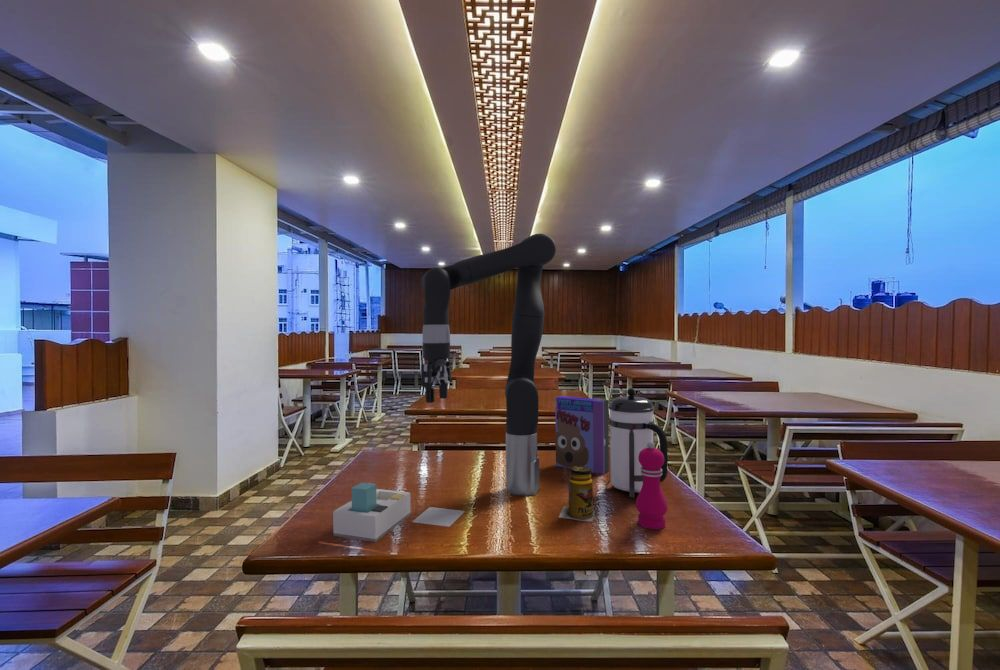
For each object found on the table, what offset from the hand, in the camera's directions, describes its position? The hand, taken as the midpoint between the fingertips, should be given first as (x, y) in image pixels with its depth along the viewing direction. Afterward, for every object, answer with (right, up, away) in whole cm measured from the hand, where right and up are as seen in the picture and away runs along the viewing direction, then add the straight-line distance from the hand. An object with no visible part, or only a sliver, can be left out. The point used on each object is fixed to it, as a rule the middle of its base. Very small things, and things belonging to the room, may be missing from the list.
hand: (437, 400), depth 127 cm
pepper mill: (+54, -28, -16) cm, 63 cm away
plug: (-14, -27, -19) cm, 36 cm away
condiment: (+37, -28, -9) cm, 47 cm away
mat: (+2, -28, -11) cm, 30 cm away
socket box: (-13, -28, -16) cm, 35 cm away
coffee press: (+57, -28, +7) cm, 63 cm away
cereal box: (+45, -28, +30) cm, 61 cm away
